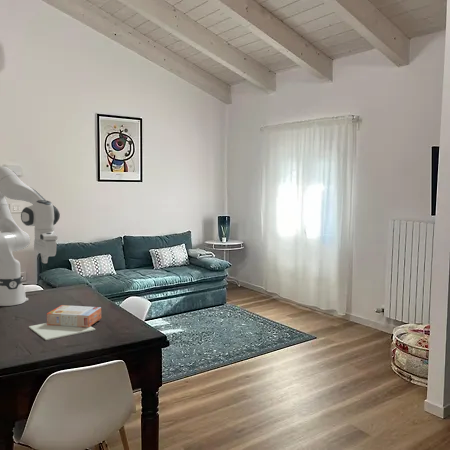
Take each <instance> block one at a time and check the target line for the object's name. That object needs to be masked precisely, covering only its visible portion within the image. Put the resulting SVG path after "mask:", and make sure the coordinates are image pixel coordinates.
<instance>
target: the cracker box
mask: <svg viewBox="0 0 450 450" xmlns="http://www.w3.org/2000/svg"><path fill="white" fill-rule="evenodd" d="M101 319H102V307H101V306H82V305H67V304H61V305H59V306H58V307H56V308H54V309H52V310H50V311H49V312H47V313H46V323H47V325H58V326H74V327H90V326H91V327H92V326H93V325H94V324H95V323H97V322H98V321H100V320H101Z"/></svg>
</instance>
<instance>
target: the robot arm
mask: <svg viewBox="0 0 450 450" xmlns="http://www.w3.org/2000/svg"><path fill="white" fill-rule="evenodd" d="M6 198H7V199H9V200H16V201H23V202H27V203H30V204H32V205H29V206H26V207H24V208H23V209H22V210H21V212H20V220H21V222H22V223H23V225H24V226H27V227H34V240H33V242H34V243H33V246H34V247H33V249H34V251H35V252H37V253H39V254H40V257H41V263H43V264H48V261H49V257H55V256H56V255H57V246H58V245H57V240H58V235H57V233H56V231H55V225H56V224H57V223H58V221H59V220H60V218H61V217H60V214H61V213H60V211H59V209H58V208H57V207H56V205H53V204H54V203H53V202H51V201H50V200H46V198H44V197H43V196H42V195H41V194H40V193H39V192H38V191H36V189H34V188H33V187H31V186H29V185H28V184H27V183H25V182H24V181H22V179H20V177H18V175H17V174H16V172H15V171H14V170H12V169H10V168H9V167H8V166H5V165H2V166H0V307H9V306H16V305H17V306H18V305H21V304H23V303H26V302H27V301H29V297H26V288H25V285H23V284H22V282H23V278H22V276H21V275H22V274H21V270H22V269H21V262H20V260H18V259H17V258H15V256H14V255H13V252H17V251H22V250H24V249H26V248H27V247H29V245H30V243H31V237H30V235H29V233H28V232H27V231H24V230H23V229H22V228H21V227H20V226H19V225H18V224H17V222H16V221H15V219H14V217H13V215H12V212H11V210H10V206H9V203H8V201H7V199H6Z"/></svg>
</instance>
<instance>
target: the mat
mask: <svg viewBox="0 0 450 450" xmlns="http://www.w3.org/2000/svg"><path fill="white" fill-rule="evenodd" d="M28 328H29V329H30V330H31V331H33V332H34V333H35V334H36V335H38V336H39V337H41V338H42V339H43V340H45V341H50V340H51V341H52V340H55V339H59V338H65V337H69V336H74V335H79V334H83V333H88V332H89V333H90V332H93V331H96V328H94V327H93V326H92V325H91V326H90V327H74V326H58V325H47V322H45V323H39V324H35V325H33V324H32V325H29V326H28Z"/></svg>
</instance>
